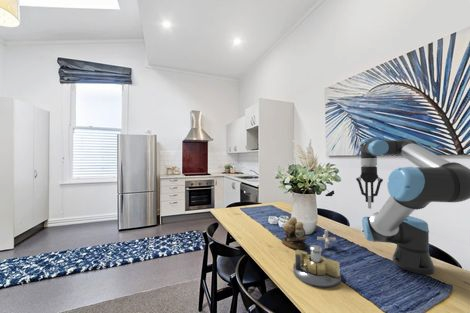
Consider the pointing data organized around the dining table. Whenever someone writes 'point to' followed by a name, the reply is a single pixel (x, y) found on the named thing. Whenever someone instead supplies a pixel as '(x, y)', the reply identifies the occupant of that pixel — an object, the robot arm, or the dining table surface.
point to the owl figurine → (294, 235)
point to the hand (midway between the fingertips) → (369, 207)
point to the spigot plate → (311, 278)
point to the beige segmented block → (319, 265)
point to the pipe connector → (326, 239)
